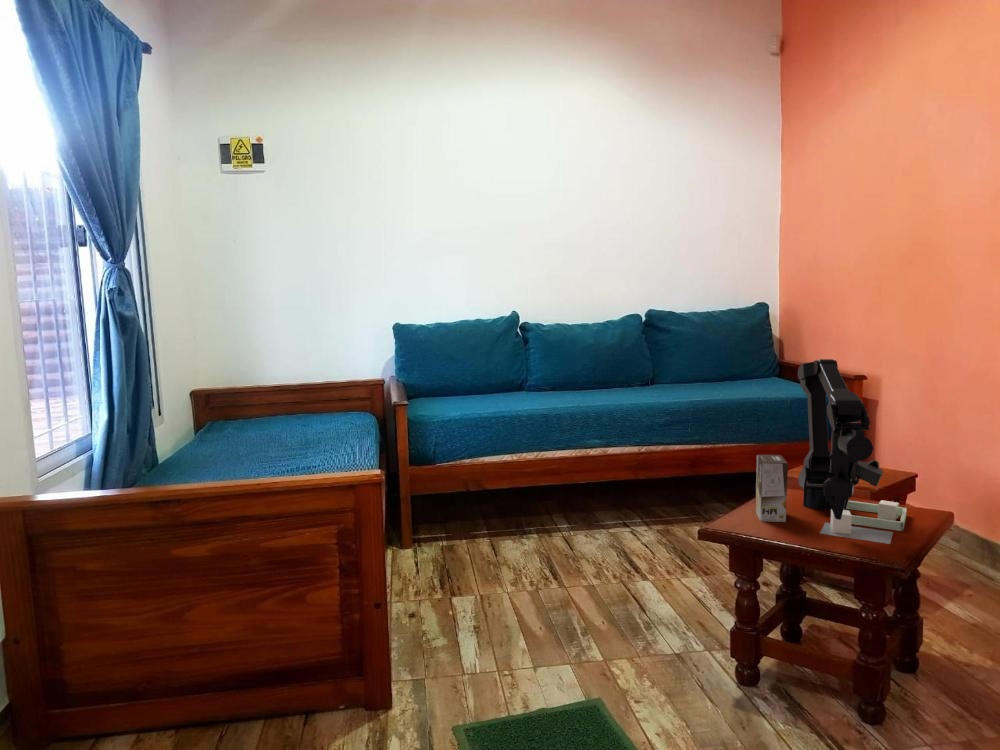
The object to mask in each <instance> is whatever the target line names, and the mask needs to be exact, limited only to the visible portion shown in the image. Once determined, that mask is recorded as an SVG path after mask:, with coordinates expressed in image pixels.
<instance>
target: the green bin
mask: <svg viewBox="0 0 1000 750" xmlns="http://www.w3.org/2000/svg"><path fill="white" fill-rule="evenodd" d="M878 504H879V503H871V502H862V501H856V500H855V501H854V500H848V503H847V507H846V509H845V510H852V511H859V512H860V511H861V512H867V513H868V512H869V513H874V514H875V513H876V514H878ZM907 509H908V508H907V507H902V506H901V507H900V506H899V509H898V517H900V521H897V520H896V521H892V520H885V519H878V517H877V518H875V517H868V516H862V515H853V514H851V515H852V519H851V525H857V526H861V527H862V526H864V527H870V528H877V529H884V530H892V531H898V532H904V528H905V524H906V519H907V513H908V511H907Z"/></svg>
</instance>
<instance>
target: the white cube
mask: <svg viewBox="0 0 1000 750" xmlns="http://www.w3.org/2000/svg"><path fill="white" fill-rule="evenodd" d="M852 515H853V514H851V511H850V509H844V510H843V513H842V517H841V520H838V519H836V518H835V516H834V513H833V511H832V509H830V522H829V523H830V528H831V530H832V532H833V533H847V534H851V526H852V524H851V519H852Z"/></svg>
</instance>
